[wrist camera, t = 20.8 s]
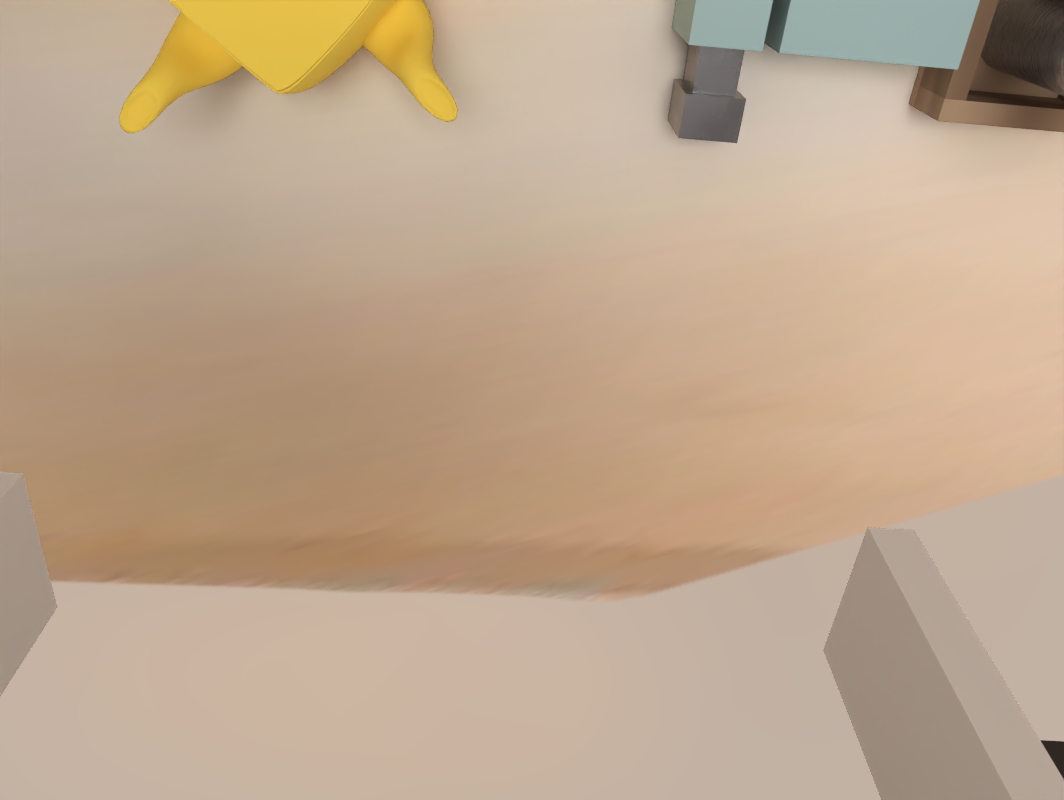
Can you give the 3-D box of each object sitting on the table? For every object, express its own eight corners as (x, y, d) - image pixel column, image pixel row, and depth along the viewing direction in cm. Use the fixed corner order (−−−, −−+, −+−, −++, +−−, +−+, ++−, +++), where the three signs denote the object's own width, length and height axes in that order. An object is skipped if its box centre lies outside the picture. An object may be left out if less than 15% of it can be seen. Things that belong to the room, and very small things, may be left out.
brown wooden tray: (908, 103, 44) (937, 120, 41) (962, -77, 40) (998, -73, 37) (1062, 117, 45) (1102, 135, 42) (1130, -59, 41) (1180, -54, 37)
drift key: (668, 120, 44) (678, 137, 41) (704, -108, 39) (720, -107, 36) (722, 124, 44) (736, 142, 41) (766, -102, 39) (786, -100, 36)
